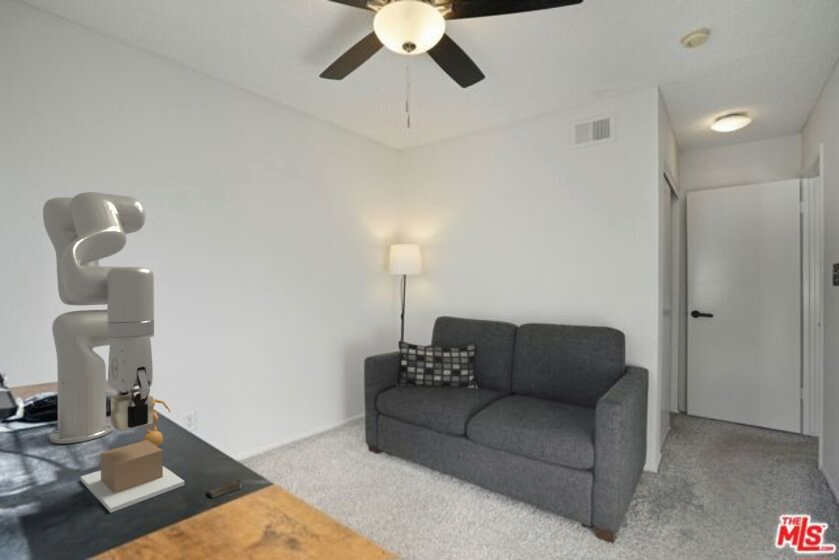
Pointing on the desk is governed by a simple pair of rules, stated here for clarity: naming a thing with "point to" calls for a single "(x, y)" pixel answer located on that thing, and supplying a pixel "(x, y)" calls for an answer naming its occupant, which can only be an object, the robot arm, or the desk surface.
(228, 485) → the block
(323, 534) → the desk surface
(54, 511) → the desk surface
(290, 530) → the desk surface
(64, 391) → the robot arm
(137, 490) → the build board
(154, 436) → the figurine
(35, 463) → the desk surface
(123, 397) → the maple block
